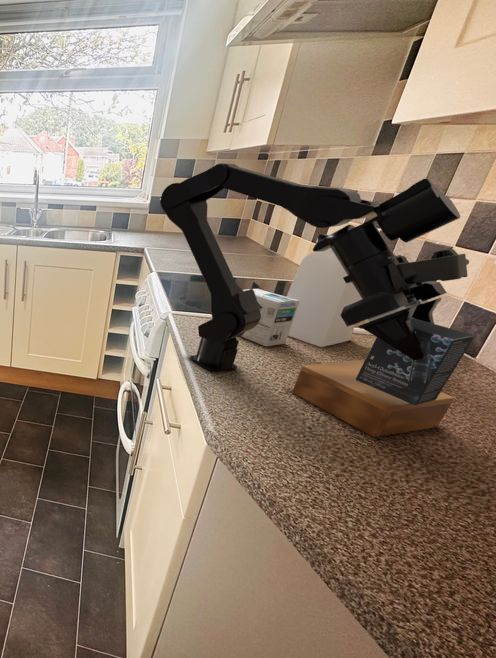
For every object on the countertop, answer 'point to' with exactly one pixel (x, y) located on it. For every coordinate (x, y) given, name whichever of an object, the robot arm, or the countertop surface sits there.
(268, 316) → the light bulb box
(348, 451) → the countertop surface
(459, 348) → the box
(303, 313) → the milk
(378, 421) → the wooden plinth
